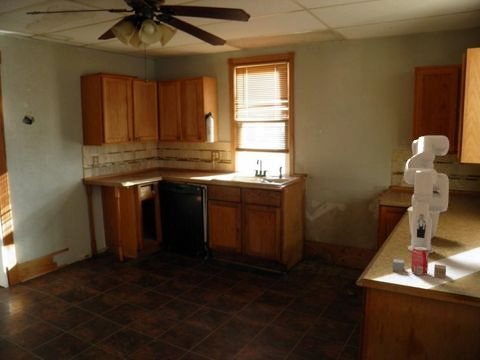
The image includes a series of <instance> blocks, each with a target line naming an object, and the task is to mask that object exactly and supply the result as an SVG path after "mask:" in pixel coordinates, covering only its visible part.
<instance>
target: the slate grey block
mask: <svg viewBox="0 0 480 360" xmlns="http://www.w3.org/2000/svg"><path fill="white" fill-rule="evenodd" d="M404 271H405V259H397V258H393V261H392V272H396V273H402V274H404Z"/></svg>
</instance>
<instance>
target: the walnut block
mask: <svg viewBox="0 0 480 360" xmlns="http://www.w3.org/2000/svg"><path fill="white" fill-rule="evenodd" d="M446 272H447V265H445V264H436V263H435V264H434V270H433V278H437V279H444V280H445V279H446V276H447V275H446V274H447V273H446Z"/></svg>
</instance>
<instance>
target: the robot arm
mask: <svg viewBox="0 0 480 360" xmlns="http://www.w3.org/2000/svg"><path fill="white" fill-rule="evenodd" d="M449 149H450V140H449V138H448V137H447V136H446V135H424V136H422V135H421V136H420V137H418V139H415V140H414V141H412V143H411V150H412V151H411V152H412V156H411V158H409V159H408V160H407V162H406V163H405V165H404V170H403V171H404V173H403V179H404V181H405V183H406V184H409V185H414V187H413V189H414V190H413V194H412V196H411V207H412V212H413V216H412V235H411V239H410V240H411V241H410V245H408V246H407V250H409V252H412V250H413V249H414V247H415V246H422V247H426V248H427V251H428V253H429V254H433V253H434V248H433V247H431V244H432V238H431V228H432V219H431V216H430V215H429V214H428V211H437V212H440V213H441V212H442V213H443V212H446V211H447V210H448V206H449V193H450V192H449V188H450V187H449V186H450V182H449V180H450V179H449V177H448V175H447V174H445V173H441V172H437V170H436V169H434V165H435V164H434V163H433V162H435V160H436V156H446V154H448V151H449ZM437 192H438V193H437Z"/></svg>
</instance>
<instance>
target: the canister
mask: <svg viewBox="0 0 480 360" xmlns="http://www.w3.org/2000/svg"><path fill="white" fill-rule="evenodd" d="M407 211H408V220H409V221H408V223H409V232H410V235H411V236H412V216H413V212H412V206H409V207H408V208H407ZM440 213H441V212H437V211H428V214H429V215H430V216H431V219H432V228H431V239H433V238H434V237H435V235H436V232H437V228H438V222H439V218H440V217H439V216H440Z"/></svg>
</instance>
